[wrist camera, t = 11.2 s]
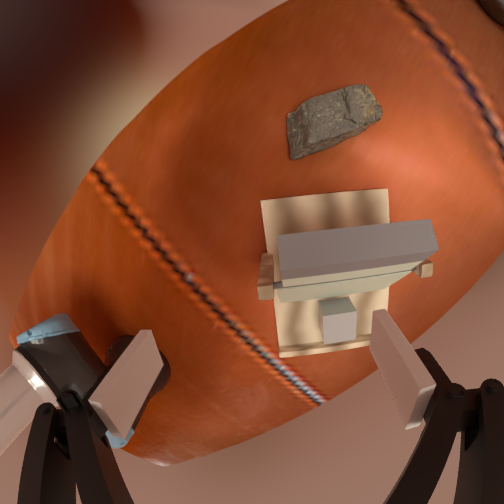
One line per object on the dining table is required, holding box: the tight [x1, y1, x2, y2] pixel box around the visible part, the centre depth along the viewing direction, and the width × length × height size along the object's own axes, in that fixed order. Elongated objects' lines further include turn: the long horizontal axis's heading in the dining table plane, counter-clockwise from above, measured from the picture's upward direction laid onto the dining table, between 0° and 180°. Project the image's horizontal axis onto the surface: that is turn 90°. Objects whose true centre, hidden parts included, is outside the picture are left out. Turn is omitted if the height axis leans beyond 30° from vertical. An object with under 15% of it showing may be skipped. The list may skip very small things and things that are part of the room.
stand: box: [257, 188, 433, 358], centre depth 39 cm, size 23×28×14 cm
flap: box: [277, 219, 439, 303], centre depth 35 cm, size 19×22×4 cm
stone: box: [318, 296, 357, 344], centre depth 44 cm, size 6×6×6 cm
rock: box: [286, 84, 383, 160], centre depth 36 cm, size 17×7×10 cm
